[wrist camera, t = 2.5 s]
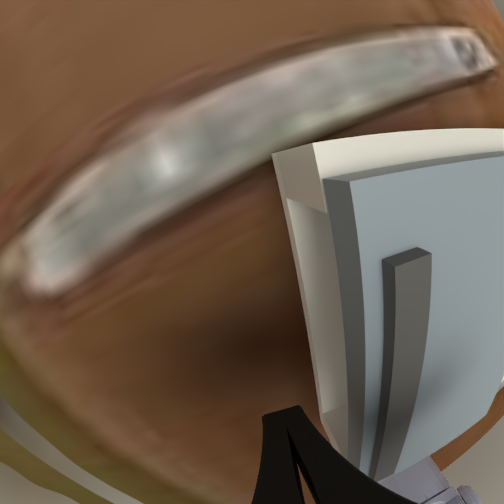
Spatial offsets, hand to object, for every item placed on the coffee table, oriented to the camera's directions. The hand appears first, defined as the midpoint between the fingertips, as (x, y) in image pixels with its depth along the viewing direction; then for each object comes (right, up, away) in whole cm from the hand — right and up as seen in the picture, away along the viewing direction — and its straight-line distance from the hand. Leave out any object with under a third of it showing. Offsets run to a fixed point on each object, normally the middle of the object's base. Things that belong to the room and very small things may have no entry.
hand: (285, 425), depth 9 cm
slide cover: (+7, +2, +1) cm, 8 cm away
